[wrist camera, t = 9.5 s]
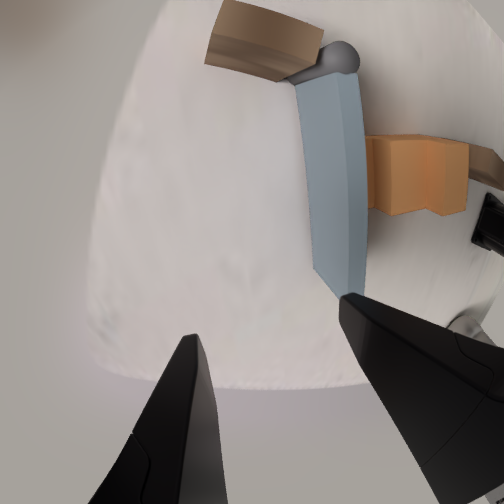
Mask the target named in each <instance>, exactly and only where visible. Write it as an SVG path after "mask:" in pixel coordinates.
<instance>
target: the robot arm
mask: <svg viewBox="0 0 504 504" xmlns="http://www.w3.org/2000/svg"><path fill="white" fill-rule="evenodd" d="M471 242H472V243H473V244H475V245H478V246H480V247H482V248H485V249H487V250H489V251H491V250H493V251H495V252H497V253H498V254H500V255H501V256H503V257H504V204H503V203H501V202H500V201H499V200H498V199H497V198H496V197H495V196H493V195H492V194H491V193H487V194H486V198H485V201H484V204H483V207H482V211H481V214H480V217H479V220H478V223H477V226H476V228H475V231H474V234H473V237H472V240H471ZM339 322H340V325H341V327H342V329H343V331H344V333H345V335H346V338H347V340H348V342H349V344H350V346H351V348H352V350H353V352H354V355H355V357H356V359H357V361H358V363H359V365H360V367H361V368H362V370H363V372H364V373H365V375H366V377H367V378H368V380H369V381H370V383H371V385H372V386H373V388H374V390H375V391H376V393H377V395H378V396H379V398H380V400H381V401H382V403H383V405H384V406H385V408H386V410H387V411H388V413H389V415H390V416H391V418H392V420H393V421H394V423H395V425H396V426H397V428H398V430H399V432H400V433H401V435H402V437H403V439H404V440H405V442H406V444H407V445H408V447H409V449H410V451H411V452H412V454H413V456H414V458H415V460H416V461H417V463H418V465H419V467H421V471H422V472H423V474H424V476H425V478H426V480H427V481H428V483H429V485H430V487H431V489H432V491H433V493H434V494H435V496H436V498H437V500H438V502H439V504H468V503H470V502H472V501H474V500H475V499H477V498H479V497H482V496H483V495H485V497H486V498H487V500H488V501H489V503H490V504H504V348H501V347H497V346H494V345H491V344H488V343H484V342H481V341H478V340H476V339H473V338H470V337H467V336H465V335H462V334H460V333H457V332H453V331H452V330H449V329H447V328H444V327H441V326H439V325H436V324H434V323H431V322H429V321H426V320H424V319H421V318H419V317H416V316H413V315H411V314H408V313H406V312H403V311H401V310H398V309H396V308H393V307H391V306H388V305H385V304H383V303H380V302H378V301H375V300H373V299H370V298H368V297H365V296H362V295H360V294H357V293H355V292H351V293H348V294H344V295H342V296H341V297H340V301H339ZM132 433H133V434H130V436H129V438H128V440H127V442H126V444H125V446H124V448H123V449H122V451H121V453H120V455H119V457H118V458H117V460H116V462H115V463H114V465H113V467H112V468H111V470H110V471H109V473H108V474H107V476H106V478H105V479H104V481H103V482H102V484H101V485H100V486H99V488H98V489H97V491H96V492H95V494H94V495H93V497H92V498H91V500H90V501H89V503H88V504H228V501H227V493H226V486H225V479H224V470H223V461H222V453H221V443H220V434H219V424H218V413H217V405H216V400H215V395H214V391H213V386H212V381H211V377H210V372H209V367H208V362H207V357H206V354H205V351H204V349H203V346H202V343H201V341H200V338H199V336H198V334H190V335H185V336H183V337H182V339H181V340H180V342H179V344H178V346H177V348H176V350H175V351H174V353H173V355H172V357H171V359H170V361H169V363H168V364H167V366H166V368H165V370H164V372H163V374H162V376H161V377H160V379H159V381H158V383H157V385H156V387H155V389H154V390H153V392H152V394H151V396H150V398H149V400H148V402H147V404H146V406H145V408H144V409H143V411H142V413H141V415H140V417H139V419H138V421H137V423H136V425H135V427H134V429H133V431H132Z"/></svg>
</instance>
